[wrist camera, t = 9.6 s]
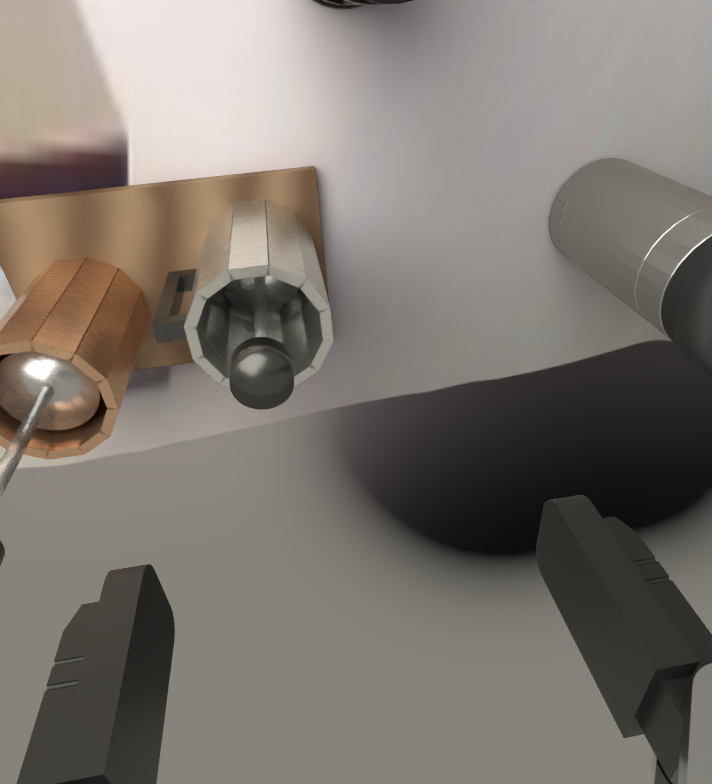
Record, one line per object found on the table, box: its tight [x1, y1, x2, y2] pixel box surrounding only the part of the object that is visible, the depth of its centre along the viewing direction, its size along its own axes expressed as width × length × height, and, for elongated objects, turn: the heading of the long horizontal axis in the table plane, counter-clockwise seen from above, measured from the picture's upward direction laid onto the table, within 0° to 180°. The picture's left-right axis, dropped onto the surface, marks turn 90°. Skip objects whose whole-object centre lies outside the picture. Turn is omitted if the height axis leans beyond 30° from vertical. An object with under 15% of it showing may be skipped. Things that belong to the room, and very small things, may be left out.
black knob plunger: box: [0, 351, 101, 565], centre depth 31 cm, size 7×7×16 cm
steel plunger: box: [221, 276, 299, 409], centre depth 38 cm, size 7×7×16 cm
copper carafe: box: [0, 257, 150, 459], centre depth 42 cm, size 12×9×14 cm
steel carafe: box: [152, 199, 334, 388], centre depth 42 cm, size 12×9×14 cm
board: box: [0, 166, 329, 370], centre depth 48 cm, size 26×16×1 cm, turn 94°
